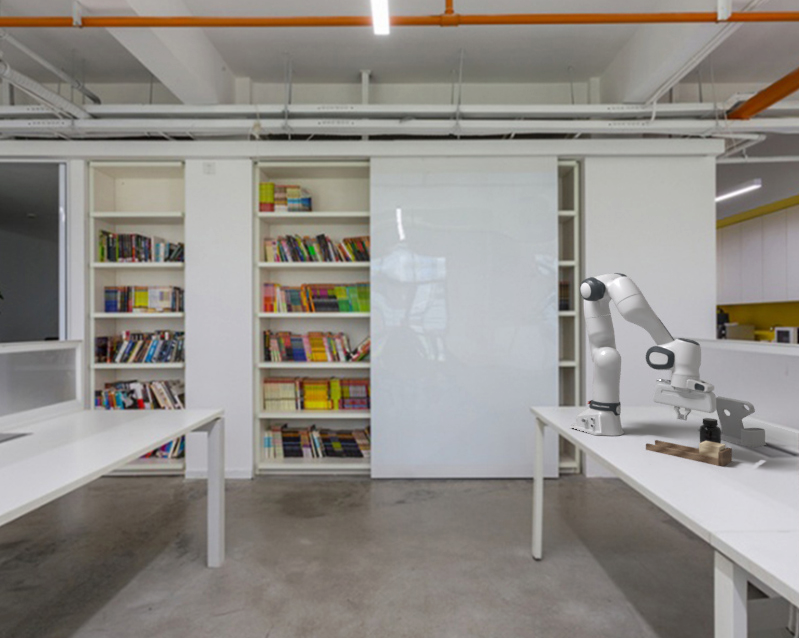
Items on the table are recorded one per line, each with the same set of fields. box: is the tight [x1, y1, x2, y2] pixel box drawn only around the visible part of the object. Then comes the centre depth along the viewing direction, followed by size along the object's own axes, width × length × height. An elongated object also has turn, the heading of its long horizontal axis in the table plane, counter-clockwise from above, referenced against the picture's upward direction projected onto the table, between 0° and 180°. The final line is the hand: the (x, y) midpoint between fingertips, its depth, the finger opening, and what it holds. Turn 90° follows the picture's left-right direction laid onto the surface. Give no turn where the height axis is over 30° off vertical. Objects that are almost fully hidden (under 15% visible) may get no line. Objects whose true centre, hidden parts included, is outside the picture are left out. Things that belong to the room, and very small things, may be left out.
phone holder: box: [716, 396, 767, 448], centre depth 190 cm, size 17×10×18 cm, turn 14°
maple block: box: [698, 441, 726, 458], centre depth 159 cm, size 6×6×6 cm
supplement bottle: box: [699, 417, 722, 444], centre depth 177 cm, size 7×7×12 cm
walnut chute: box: [645, 439, 733, 467], centre depth 165 cm, size 25×9×6 cm, turn 37°
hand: (681, 419), depth 167 cm, fingers closed
